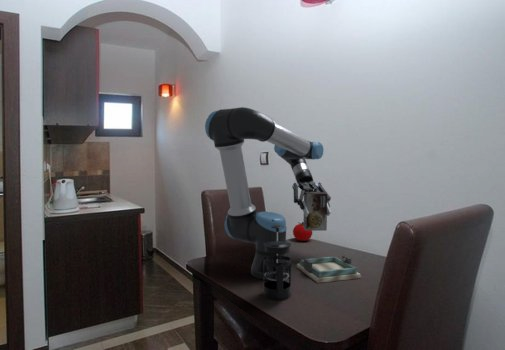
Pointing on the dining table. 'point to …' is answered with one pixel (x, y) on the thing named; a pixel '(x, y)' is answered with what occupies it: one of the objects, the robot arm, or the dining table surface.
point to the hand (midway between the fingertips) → (318, 214)
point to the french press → (277, 270)
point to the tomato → (301, 232)
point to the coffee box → (315, 211)
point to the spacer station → (329, 269)
